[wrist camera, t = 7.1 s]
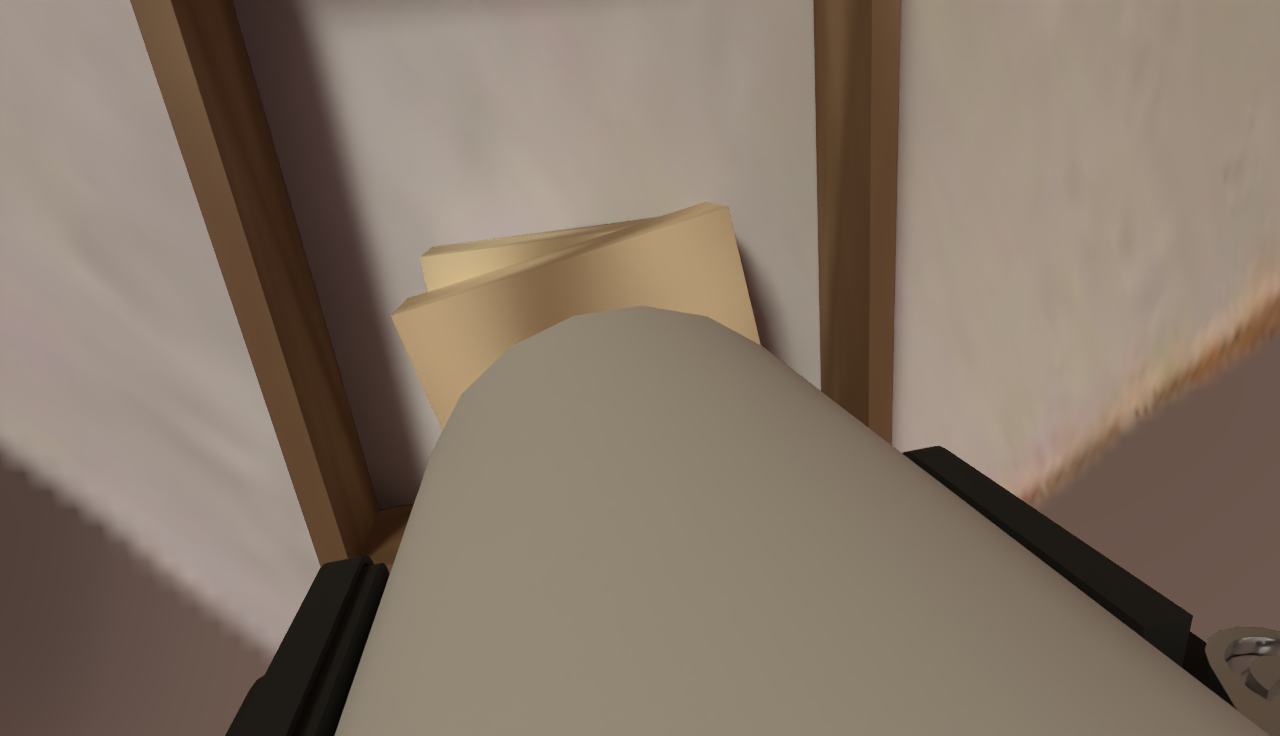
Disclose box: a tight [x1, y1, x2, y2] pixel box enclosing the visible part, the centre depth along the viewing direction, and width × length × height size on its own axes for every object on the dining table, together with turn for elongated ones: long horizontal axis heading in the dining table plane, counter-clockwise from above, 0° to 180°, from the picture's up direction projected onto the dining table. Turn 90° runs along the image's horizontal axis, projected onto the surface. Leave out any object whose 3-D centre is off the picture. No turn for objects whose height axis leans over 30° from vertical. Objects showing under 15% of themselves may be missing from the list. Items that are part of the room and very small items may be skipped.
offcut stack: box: [391, 202, 761, 431], centre depth 19 cm, size 10×9×4 cm
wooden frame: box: [130, 0, 901, 574], centre depth 18 cm, size 18×20×4 cm
